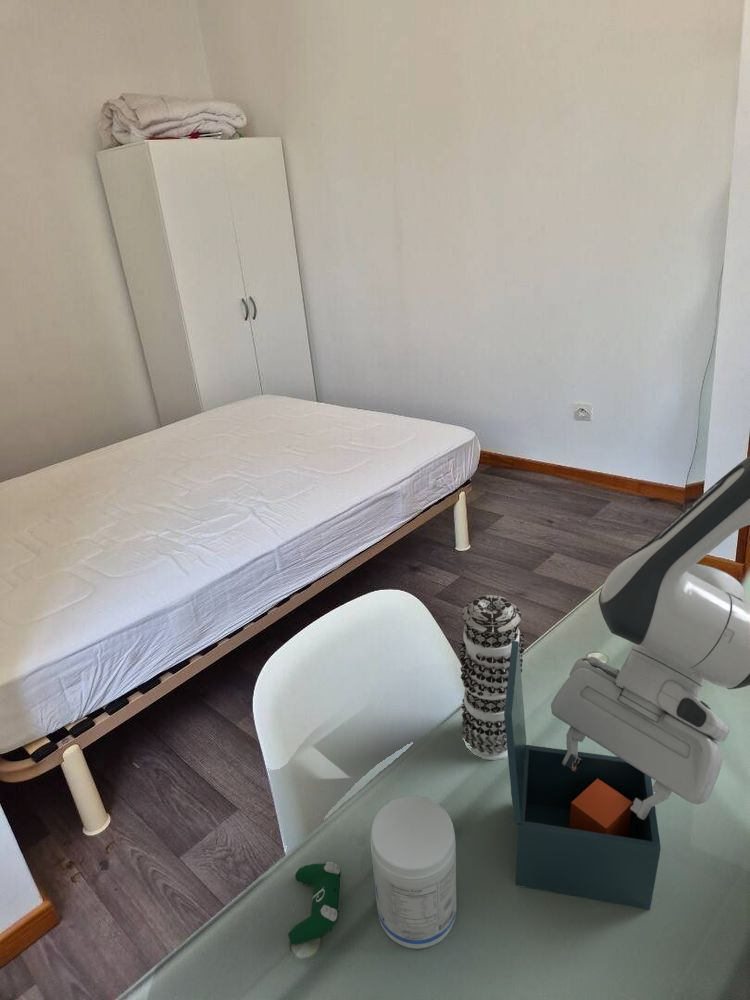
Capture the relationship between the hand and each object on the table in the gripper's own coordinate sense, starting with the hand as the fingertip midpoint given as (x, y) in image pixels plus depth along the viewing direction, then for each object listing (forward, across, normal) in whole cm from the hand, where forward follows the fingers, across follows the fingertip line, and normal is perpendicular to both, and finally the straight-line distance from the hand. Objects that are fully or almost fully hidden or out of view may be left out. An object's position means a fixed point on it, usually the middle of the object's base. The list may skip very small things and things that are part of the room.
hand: (601, 791), depth 83 cm
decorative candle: (+5, -22, +11) cm, 25 cm away
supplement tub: (+24, -10, -8) cm, 27 cm away
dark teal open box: (+9, -1, +7) cm, 11 cm away
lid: (-2, -8, -10) cm, 13 cm away
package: (+7, 0, +8) cm, 10 cm away
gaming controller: (+30, -18, -14) cm, 37 cm away
